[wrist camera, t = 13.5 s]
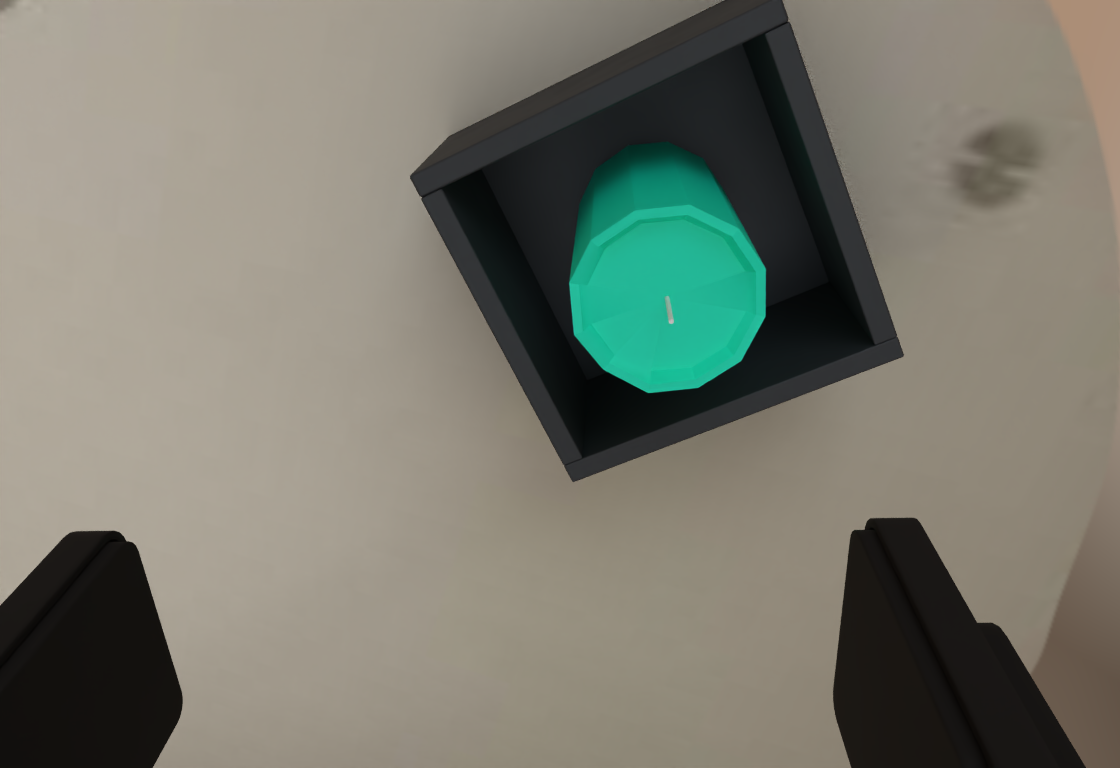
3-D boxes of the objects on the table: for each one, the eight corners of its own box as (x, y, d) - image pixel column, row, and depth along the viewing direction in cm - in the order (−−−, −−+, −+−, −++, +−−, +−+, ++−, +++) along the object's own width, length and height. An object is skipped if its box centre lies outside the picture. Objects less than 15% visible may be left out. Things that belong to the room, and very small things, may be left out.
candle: (645, 108, 34) (662, 170, 23) (758, 206, 35) (824, 309, 25) (548, 226, 36) (522, 333, 25) (658, 314, 38) (679, 452, 27)
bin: (447, 137, 36) (408, 176, 29) (745, -10, 33) (780, -6, 26) (578, 395, 40) (572, 483, 33) (850, 286, 37) (904, 356, 30)
